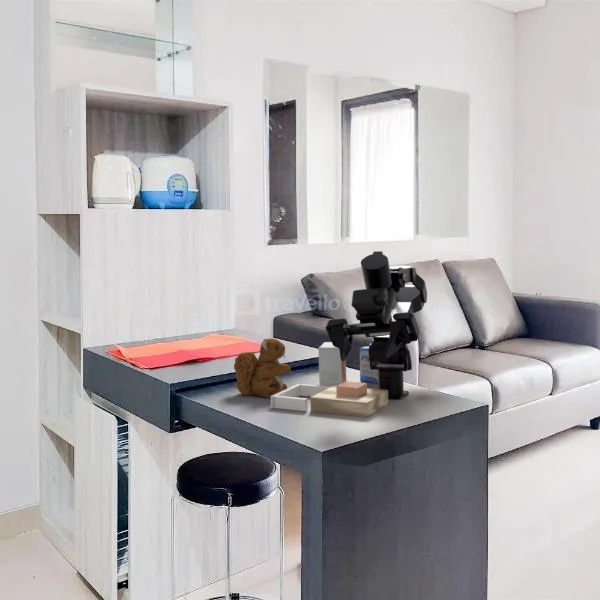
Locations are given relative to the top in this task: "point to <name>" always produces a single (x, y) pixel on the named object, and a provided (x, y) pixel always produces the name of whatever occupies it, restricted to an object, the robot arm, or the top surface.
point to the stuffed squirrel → (262, 370)
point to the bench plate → (349, 402)
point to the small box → (331, 365)
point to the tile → (351, 389)
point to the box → (295, 397)
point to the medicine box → (367, 368)
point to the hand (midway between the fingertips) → (363, 358)
